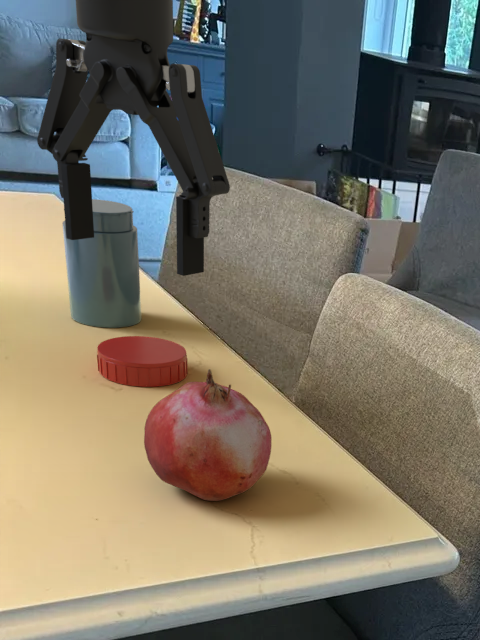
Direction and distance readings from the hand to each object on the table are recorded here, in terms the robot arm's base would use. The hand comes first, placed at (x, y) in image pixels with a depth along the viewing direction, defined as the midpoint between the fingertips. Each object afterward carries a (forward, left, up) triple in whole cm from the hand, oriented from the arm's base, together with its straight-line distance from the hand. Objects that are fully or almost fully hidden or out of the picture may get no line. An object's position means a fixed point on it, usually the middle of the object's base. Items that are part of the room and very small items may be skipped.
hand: (134, 255), depth 83 cm
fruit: (+11, -24, -11) cm, 29 cm away
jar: (-8, +16, -11) cm, 21 cm away
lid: (0, 0, -9) cm, 9 cm away
